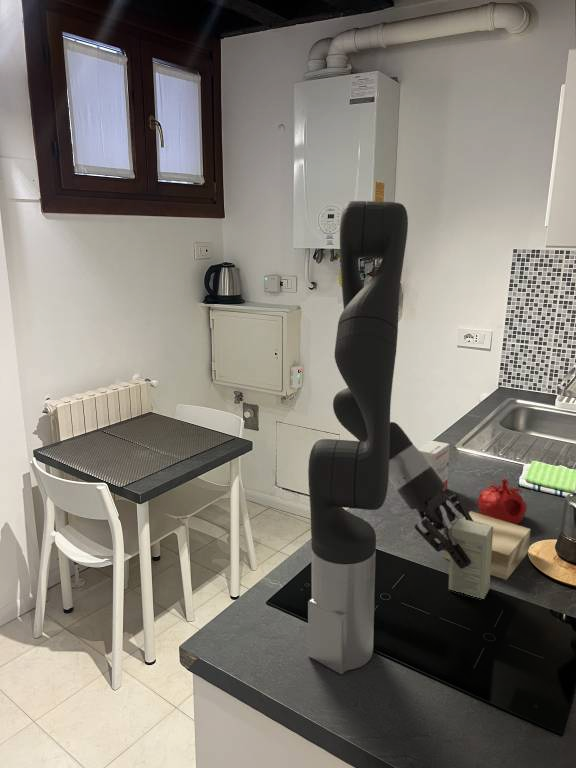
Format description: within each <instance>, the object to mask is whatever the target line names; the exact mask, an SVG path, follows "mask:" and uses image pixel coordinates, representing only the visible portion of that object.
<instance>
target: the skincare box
mask: <svg viewBox="0 0 576 768" xmlns="http://www.w3.org/2000/svg"><path fill="white" fill-rule="evenodd" d="M451 534H452V535H453V536H454V538H455V540H456V542H457V544H459V545H460V547H461V548H462V549H463V551H464V552H465V554H466V555H467V556H468V558H469V559H470V561H471V563H470V565H469V566H467V567H465V568H463V569H461V568H460V567H459V566H458V565H457V564H456V563H455V561H454V560H453V559H452V557H451V556H450V560H449V565H448V566H449V567H448V568H449V569H448V590H449V589H450V590H453V591H456V592H461V593H464V594H467V595H470V596H473V597H472V598H474V597H477V598H481V599H484V600H485V598H486V597H487V595H486V594H488V593H489V590H490V587H491V586H490V585H491V575H490V572H491V555H492V538H493V526H491V525H487V524H483V523H478V522H474V521H470V520H465V519H461V518H458V519H457V520H456V522H455V523H454V524H453V525H452V527H451ZM450 590H449V591H450ZM453 591H452V592H453ZM456 592H455V593H456ZM467 595H466V596H467ZM470 596H469V597H470ZM485 596H486V597H485ZM477 598H476V599H477ZM481 599H480V600H481Z"/></svg>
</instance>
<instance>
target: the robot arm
mask: <svg viewBox="0 0 576 768" xmlns="http://www.w3.org/2000/svg"><path fill="white" fill-rule="evenodd" d="M408 228H409V218H408V211H407V208H406V207H405V206H404V205H403V203H401V202H395V201H380V200H379V201H377V200H375V201H374V200H373V201H372V200H355V201H354V200H352V201H348V202H347V203H346V204H345V205H344V207H343V210H342V213H341V218H340V224H339V256H340V257H339V259H340V277H341V280H340V281H341V290H342V291H341V293H342V303H343V306H342V307H343V311H342V312H341V314H340V316H339V318H338V323H337V330H336V339H335V346H334V347H335V348H334V360H335V364H336V367H337V369H338V371H339V373H340V375H341V377H342V379H343V381H344V383H345V385H346V386H347V388H344V389H341V390H340V391H338V392H337V393H336V395H335V396H334V397H333V401H332V408H333V412H334V416H335V418H336V419H337V421H338V422H339V423H340V425H341V426H342V427H343V428H344V429H346V431H348V432H349V433H350V434H351V435H353V437H354V438H356V439H357V440H347V439H335V438H334V439H333V438H322V439H318V440H317V441H315V443H314V444H313V446H312V448H311V450H310V452H309V457H308V458H309V459H308V469H307V474H308V478H307V480H308V495H309V507H310V510H309V511H310V534H311V535H310V537H311V598H310V599H309V600H308V601H307V633H308V634H307V637H308V638H307V639H308V642H307V643H308V645H307V648H308V651H307V653H308V655H307V656H308V657H309V658H311V659H313V660H315V661H317V662H318V663H320V664H321V665H323V666H326V667H327V668H329V669H330V670H333V671H334V672H336V673H338V674H340V675H343V674H345V672H348V671H350V670H356V669H358V668H361V667H363V666H365V665H366V664H368V662H369V661H370V660H371V658H372V657H373V653H374V631H375V630H374V625H375V621H374V620H375V618H374V617H375V588H376V587H375V585H376V583H375V582H376V581H375V580H376V554H377V553H376V549H377V536H376V531H375V529H374V527H373V526H372V525H371V524H370V523H369V522H368V521H366V520H365V519H363V518H361V517H359V516H357V515H355V514H354V513H351V512H350V511H348V510H346V509H345V508H347V509H357V510H367V511H376V510H379V509H380V508H382V507H383V505H384V503H385V501H386V498H387V493H388V486H389V481H390V482H391V484H392V486H393V487H394V488H395V490H396V491H397V492H398V494H399V496H400V497H401V498H402V500H403V502H405V504H406V505H407V507H408V508H409V509H410V510H416V511H417V512H418V514H419V517H420V521H419V522H418V523H415V525H414V529H415V530H416V532H418V534H419V535H421V536H422V537H423V539H424V540H425V541H426V542H427V543H428V544H429V545H430V546H431V547H432V548H433V549H434V550H435V551H436V552H438V553H440V552H441V551H443V552H444V551H447V552H448V553H449V554H450V556H451V557H452V559H453V560H454V561H455V563H456V564H457V565H458V566H459V567H460V568H461V569H463V568H465V567H467V566H469V565H470V563H471V561H470V559H469V558H468V556H467V555H466V554H465V552H464V551H463V549H462V548H461V547H460V545H459V544H457V542H456V540H455V538H454V536H453V535H452V534H451V527H452V525H453V524H454V523H455V522H456V520H457V519H458V518H461V519H463V518H464V517H465V519H466V520H470V521H473V520H472V518H471V516H470V514H469V512H470V511H468V509H467V507H466V505H465V504H464V501H463V500H462V498H461V497H460V495H459V494H458V493H455V494H453V495H451V496H448V495H447V494H446V493H445V491H444V492H443V491H442V490H443V489H444V488H445V484H444V483H443V481H442V480H441V479H440V477H439V476H438V475H437V473H436V472H435V471H434V469H433V468H432V467H431V465H430V464H429V463H428V461H427V460H426V458H425V457H424V456H423V455H422V453H421V452H420V451H419V450H418V449H419V448H417V447H416V446H415V445H414V443H413V442H412V441H411V439H410V438H409V436H408V435H407V434H406V433H405V431H404V430H403V428H402V427H401V426H400V425H399V424H398V423H396V422H393V421H391V405H392V404H391V403H392V391H393V382H394V373H395V364H396V357H397V345H398V333H399V311H400V310H399V306H400V305H399V304H400V292H401V291H400V290H401V281H402V275H403V274H402V273H403V268H404V259H405V253H406V246H407V238H408ZM362 258H364V259H378V260H379V259H380V260H381V262H380V264H379V266H378V268H377V270H376V271H375V273H374V274H373V276H371V279H370V280H369V281H368V282H367V284H365V285H364V283H363V281H362V278H361V274H360V267H359V259H362ZM445 535H447V538H448V540H447V539H446V538H445ZM436 539H437V540H438V541H439V542H438V541H437V540H436Z"/></svg>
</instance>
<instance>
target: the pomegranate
mask: <svg viewBox="0 0 576 768" xmlns="http://www.w3.org/2000/svg"><path fill="white" fill-rule="evenodd" d="M501 482H502V484H501V485H502V486H501V485H500V484H497V483H496V482H495V481H490V480H489V483H490V484H491V485H489V486H488V487H486V488H484V489H483V490H482V491H480V493H479V494H478V495H479V496H478V503H477V504H478V510H479V513H480V514H482V515H485V516H489V517H492V518H495V519H499V520H502V521H505V522H509V523H512V524H515V525H519V523H521V521H523V519H524V517H525V516H526V513H527V509H528V506H527V502H525V501H524V500H523V496H522V495H521V494H520V493H523V491H522V490H521V489H520V488H515V487H510V486H509V484H510V483H511V481H509V482H508V479H507V478H502V479H501ZM493 484H494V485H493ZM495 485H496V486H495ZM508 486H509V487H508ZM519 492H520V493H519Z"/></svg>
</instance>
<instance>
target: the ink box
mask: <svg viewBox="0 0 576 768" xmlns="http://www.w3.org/2000/svg"><path fill="white" fill-rule="evenodd" d="M417 449H418V450H419V451H420V452H421V453H422V455H423V456H424V457H425V458H426V460H427V461H428V463H429V464H430V465H431V467H432V468H433V469H434V471H435V472H436V473H437V475H438V476H439V477H440V479H441V480H442V481H443V483H444V484H445V488H444V489H443V490H442V491H443V492H444V493H445V491H446V490H447V489H448V478H449V476H448V475H449V460H450V459H449V458H450V444H449V443H448V442H440V441H436V440H431V441H429V442H427V443H425V444H424V445H423V446H421V447H420V448H417Z"/></svg>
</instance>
